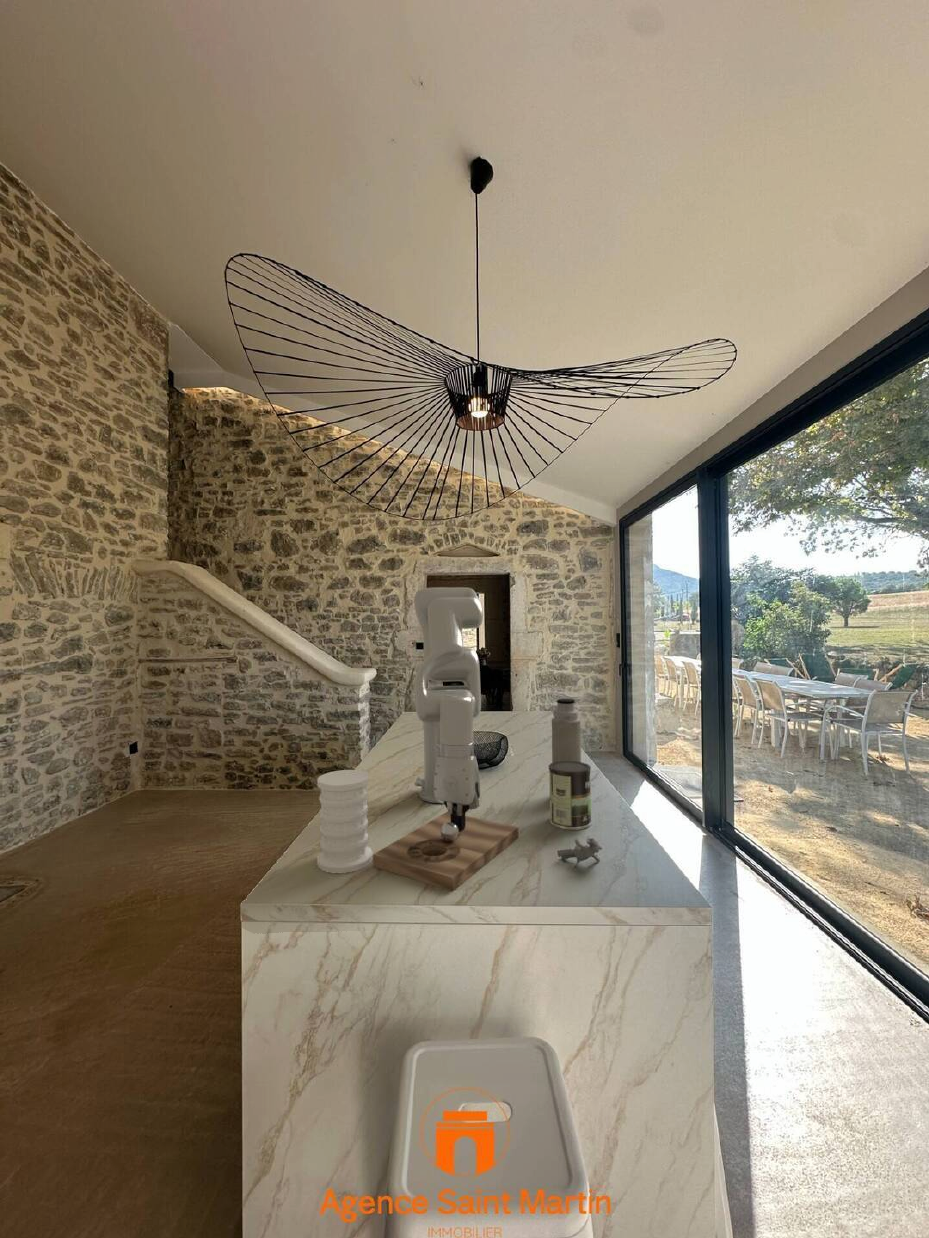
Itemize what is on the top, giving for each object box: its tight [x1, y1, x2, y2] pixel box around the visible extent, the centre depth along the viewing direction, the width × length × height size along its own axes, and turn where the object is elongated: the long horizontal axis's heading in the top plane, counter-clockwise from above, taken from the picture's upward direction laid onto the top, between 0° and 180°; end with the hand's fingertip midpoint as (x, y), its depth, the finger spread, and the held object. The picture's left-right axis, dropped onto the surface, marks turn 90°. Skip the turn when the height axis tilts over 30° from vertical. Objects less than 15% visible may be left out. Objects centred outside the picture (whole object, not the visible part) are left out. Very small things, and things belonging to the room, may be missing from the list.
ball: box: [441, 822, 459, 841], centre depth 120 cm, size 4×4×4 cm
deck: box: [372, 811, 519, 892], centre depth 120 cm, size 28×20×2 cm
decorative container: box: [316, 769, 373, 874], centre depth 116 cm, size 12×12×18 cm
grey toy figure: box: [557, 835, 603, 868], centre depth 113 cm, size 10×6×9 cm
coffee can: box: [548, 761, 592, 831], centre depth 135 cm, size 10×10×14 cm
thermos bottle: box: [551, 698, 582, 763], centre depth 153 cm, size 8×8×28 cm
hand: (458, 830), depth 123 cm, fingers closed
